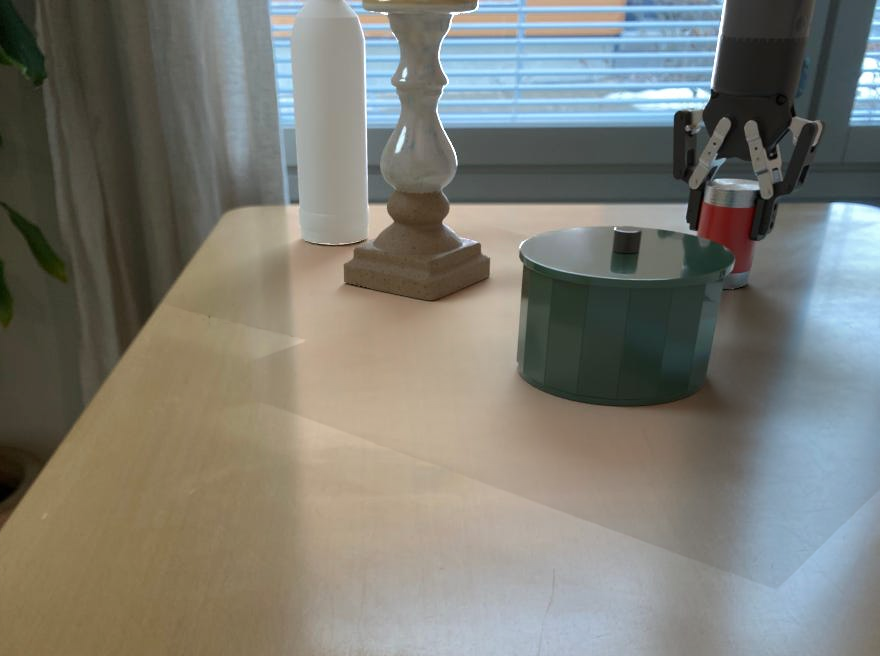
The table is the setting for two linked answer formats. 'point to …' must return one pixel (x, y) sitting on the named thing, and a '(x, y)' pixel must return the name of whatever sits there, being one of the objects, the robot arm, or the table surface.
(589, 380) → the pot
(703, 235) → the can
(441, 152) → the candle holder
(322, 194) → the bottle
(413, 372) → the table surface
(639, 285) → the pot lid
